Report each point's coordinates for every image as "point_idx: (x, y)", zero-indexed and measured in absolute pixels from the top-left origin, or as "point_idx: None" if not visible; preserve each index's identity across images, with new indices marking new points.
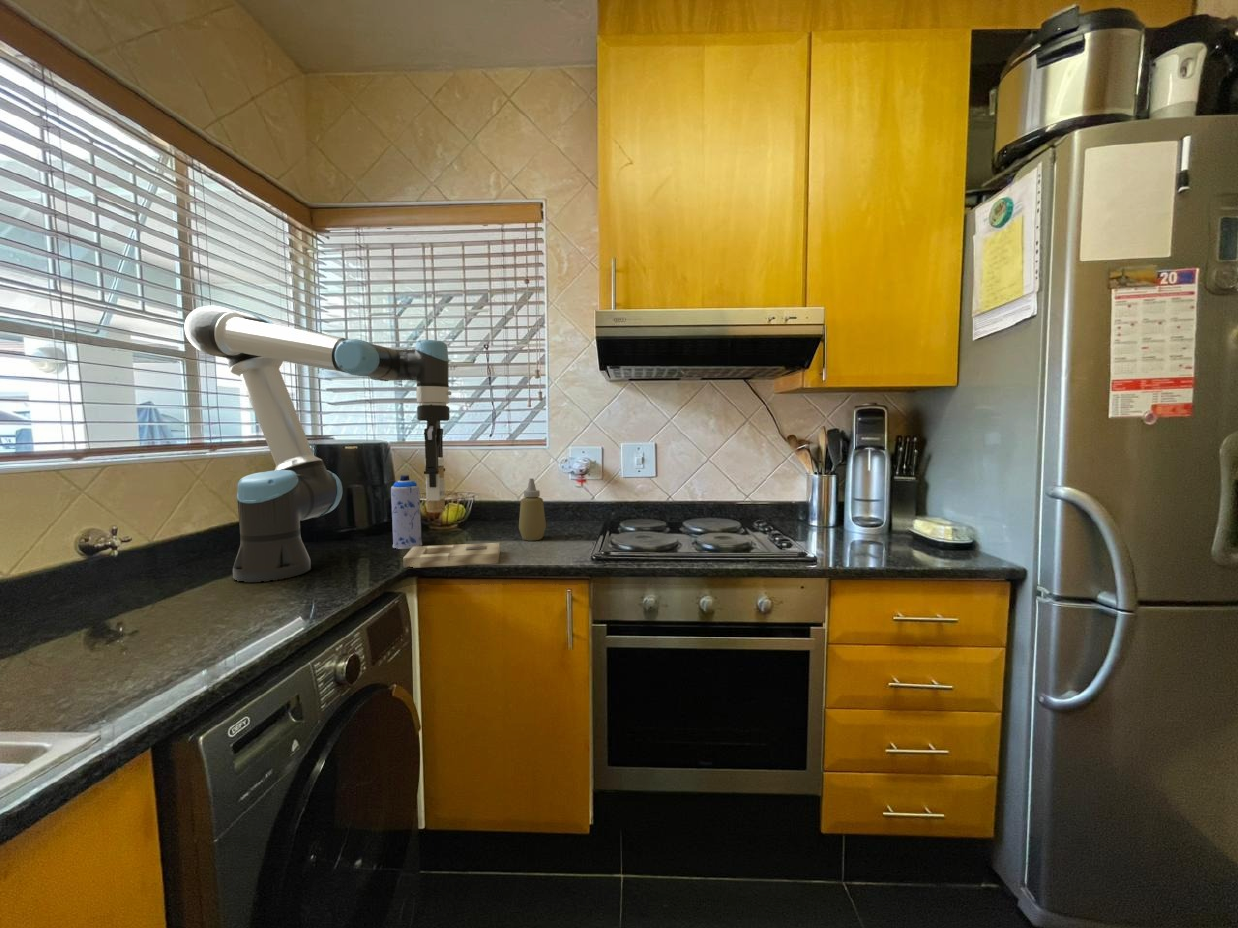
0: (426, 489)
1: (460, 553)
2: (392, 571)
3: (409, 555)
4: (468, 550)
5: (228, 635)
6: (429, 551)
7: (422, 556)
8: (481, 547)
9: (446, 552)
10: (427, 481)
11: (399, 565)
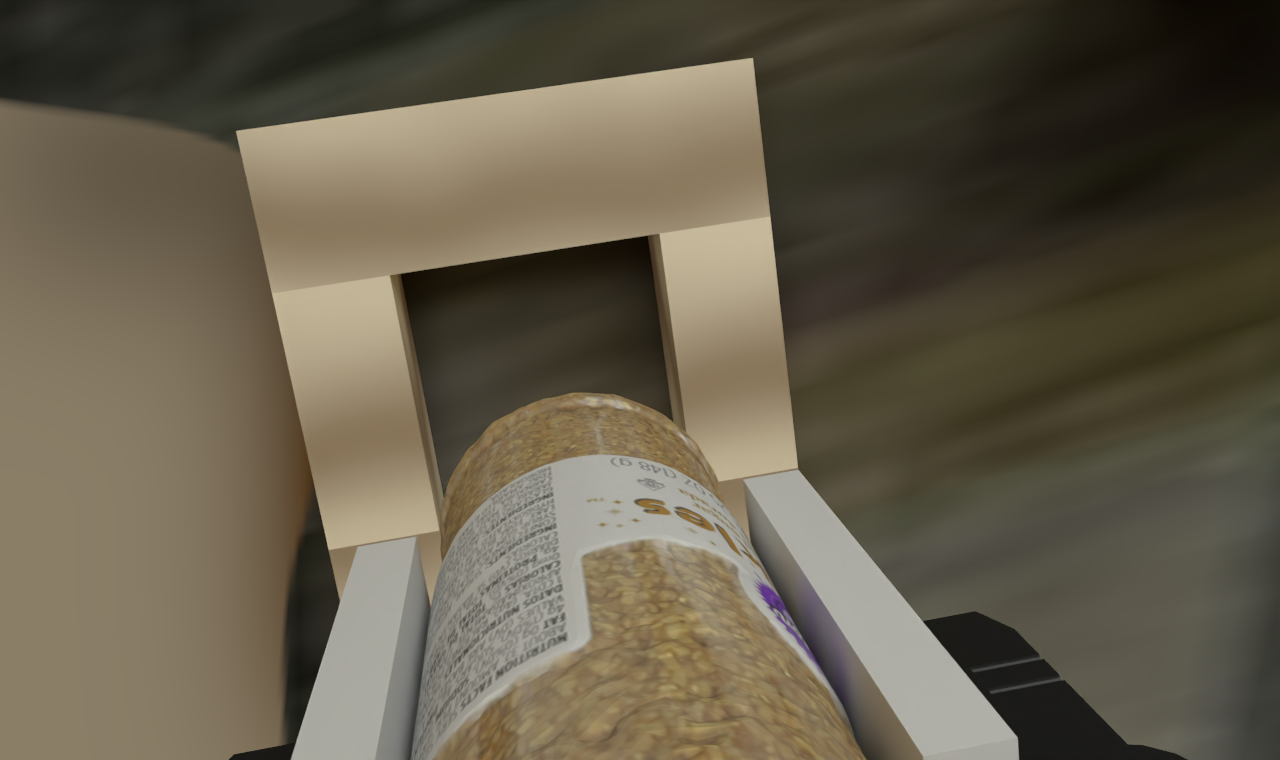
0: (507, 552)
1: None
2: (152, 57)
3: (348, 160)
4: None
5: None
6: (659, 259)
7: (302, 311)
8: None
9: (678, 413)
10: (296, 753)
11: (374, 47)
